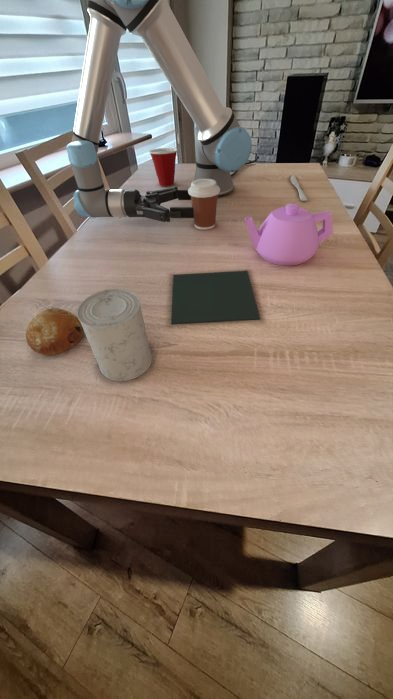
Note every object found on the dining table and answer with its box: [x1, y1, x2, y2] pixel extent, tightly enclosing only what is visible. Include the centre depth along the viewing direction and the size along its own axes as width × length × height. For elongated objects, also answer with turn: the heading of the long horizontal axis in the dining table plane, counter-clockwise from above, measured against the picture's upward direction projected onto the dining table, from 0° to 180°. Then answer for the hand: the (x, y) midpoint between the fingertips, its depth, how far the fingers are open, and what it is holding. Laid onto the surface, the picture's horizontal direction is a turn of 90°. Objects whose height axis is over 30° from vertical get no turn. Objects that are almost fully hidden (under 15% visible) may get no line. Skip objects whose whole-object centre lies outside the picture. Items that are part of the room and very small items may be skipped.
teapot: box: [243, 202, 334, 267], centre depth 74 cm, size 22×16×12 cm
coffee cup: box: [187, 179, 220, 231], centre depth 89 cm, size 9×9×12 cm
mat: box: [170, 270, 261, 325], centre depth 67 cm, size 18×18×1 cm
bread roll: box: [25, 306, 84, 356], centre depth 58 cm, size 10×10×8 cm
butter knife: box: [290, 175, 308, 202], centre depth 111 cm, size 1×27×3 cm
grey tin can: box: [76, 288, 153, 382], centre depth 50 cm, size 10×10×12 cm
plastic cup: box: [148, 147, 178, 187], centre depth 117 cm, size 11×11×12 cm
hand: (196, 203), depth 89 cm, fingers open, 13 cm apart
